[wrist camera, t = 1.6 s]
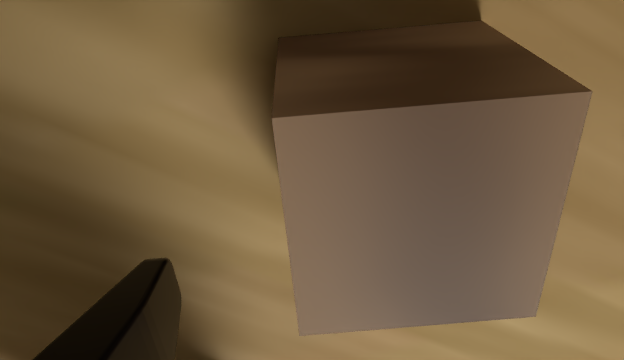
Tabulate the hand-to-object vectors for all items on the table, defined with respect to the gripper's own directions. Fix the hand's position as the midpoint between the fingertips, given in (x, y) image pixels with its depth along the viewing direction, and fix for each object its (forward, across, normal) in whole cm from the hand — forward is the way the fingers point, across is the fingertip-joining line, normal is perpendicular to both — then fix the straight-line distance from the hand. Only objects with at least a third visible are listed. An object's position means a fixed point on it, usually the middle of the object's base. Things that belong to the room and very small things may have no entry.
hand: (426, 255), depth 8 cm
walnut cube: (+6, 0, 0) cm, 6 cm away
